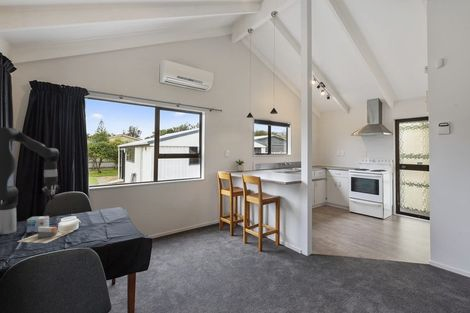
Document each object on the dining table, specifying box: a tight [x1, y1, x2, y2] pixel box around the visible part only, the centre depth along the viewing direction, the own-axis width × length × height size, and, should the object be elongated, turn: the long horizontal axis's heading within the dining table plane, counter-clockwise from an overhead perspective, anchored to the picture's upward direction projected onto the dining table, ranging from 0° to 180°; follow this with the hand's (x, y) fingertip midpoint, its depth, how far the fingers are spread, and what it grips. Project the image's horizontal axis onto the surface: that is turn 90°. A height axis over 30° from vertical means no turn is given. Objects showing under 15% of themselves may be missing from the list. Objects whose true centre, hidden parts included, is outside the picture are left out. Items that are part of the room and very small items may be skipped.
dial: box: [37, 226, 58, 238], centre depth 152 cm, size 12×10×6 cm
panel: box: [16, 229, 73, 244], centre depth 152 cm, size 20×22×2 cm
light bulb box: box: [26, 215, 50, 233], centre depth 162 cm, size 11×7×11 cm, turn 105°
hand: (51, 199), depth 161 cm, fingers closed
